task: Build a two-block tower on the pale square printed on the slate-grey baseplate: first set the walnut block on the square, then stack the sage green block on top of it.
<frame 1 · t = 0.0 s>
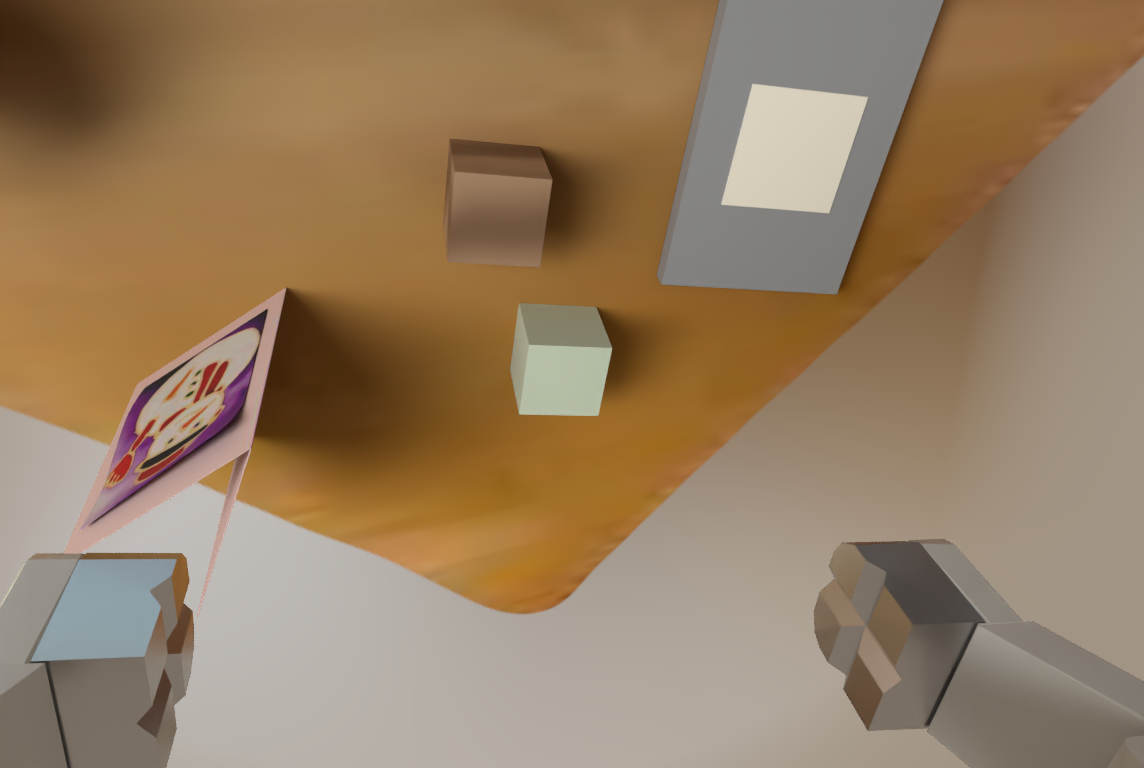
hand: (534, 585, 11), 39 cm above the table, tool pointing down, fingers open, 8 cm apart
baseplate: (784, 144, 50), on the table
sage green block: (552, 338, 55), on the table
walnut block: (490, 185, 48), on the table
greeting card: (244, 366, 52), on the table
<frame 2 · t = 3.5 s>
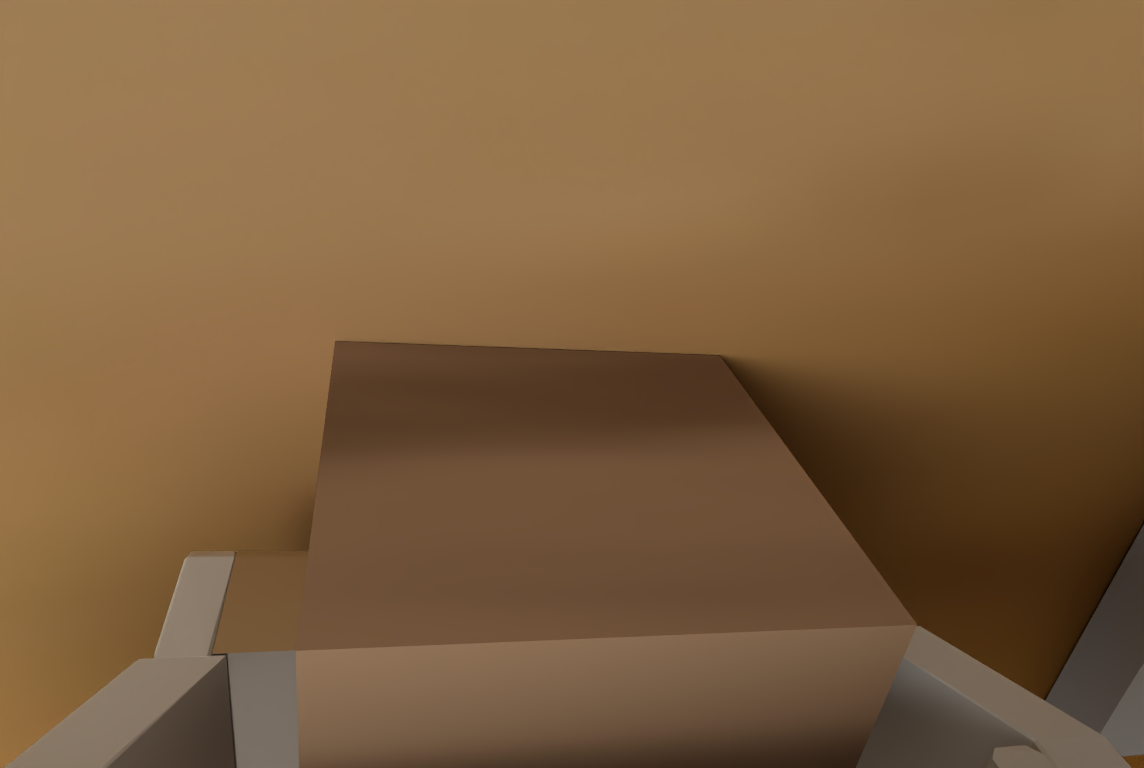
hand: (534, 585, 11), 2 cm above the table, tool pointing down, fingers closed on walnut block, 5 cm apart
walnut block: (517, 506, 12), on the table, touching gripper
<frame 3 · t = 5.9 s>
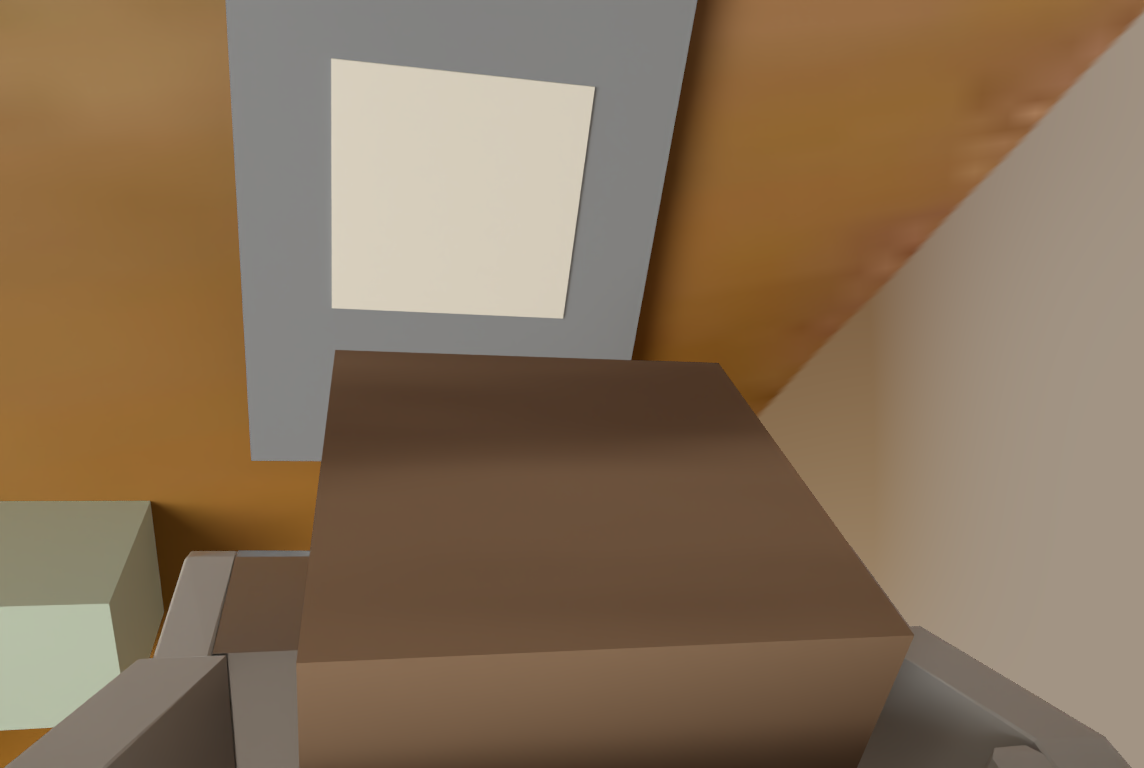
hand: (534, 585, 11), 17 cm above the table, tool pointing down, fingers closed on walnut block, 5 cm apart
baseplate: (455, 188, 25), on the table
sage green block: (79, 558, 29), on the table
walnut block: (517, 513, 12), point 16 cm above the table, touching gripper
when the fingers open (4 cm above the table, at t = 8.8 s): walnut block drops 1 cm, resting on baseplate.
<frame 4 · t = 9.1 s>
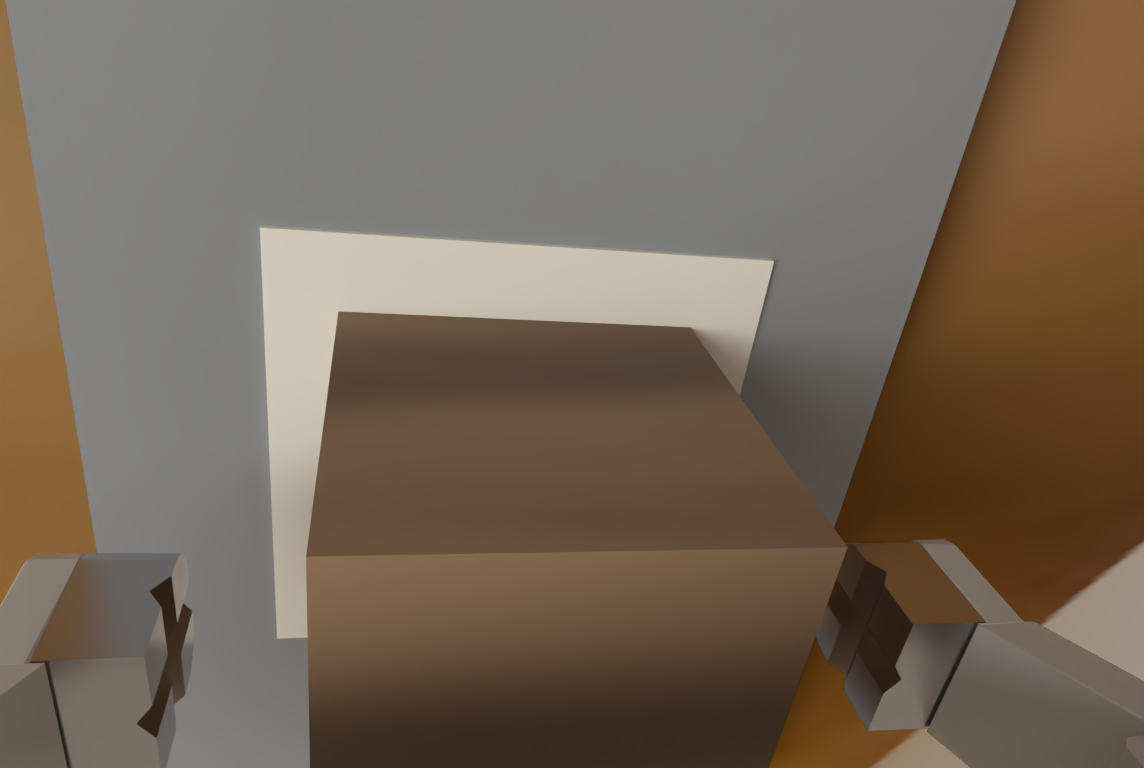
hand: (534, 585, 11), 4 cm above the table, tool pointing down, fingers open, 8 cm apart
baseplate: (500, 418, 14), on the table
walnut block: (505, 467, 13), point 1 cm above the table, touching baseplate
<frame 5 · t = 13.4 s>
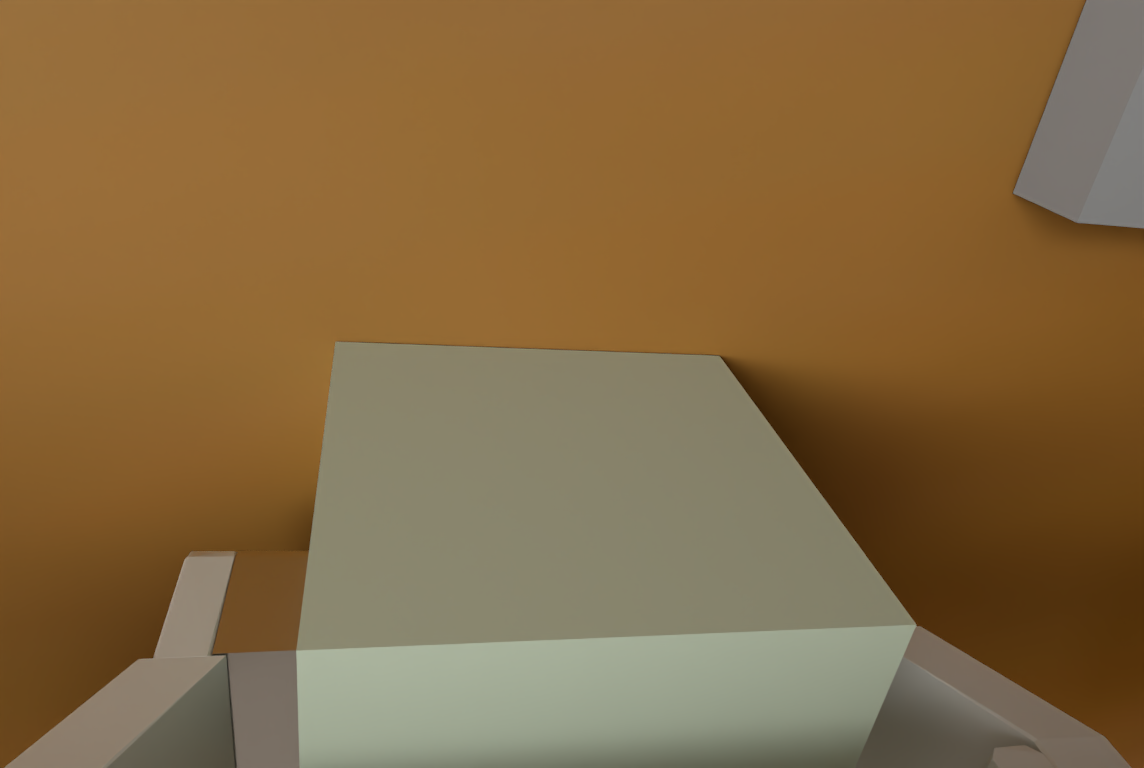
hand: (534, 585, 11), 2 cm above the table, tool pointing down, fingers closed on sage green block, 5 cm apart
sage green block: (517, 506, 12), on the table, touching gripper
when the fingers open (9 cm above the table, at t = 18.3 s): sage green block drops 1 cm, resting on walnut block.
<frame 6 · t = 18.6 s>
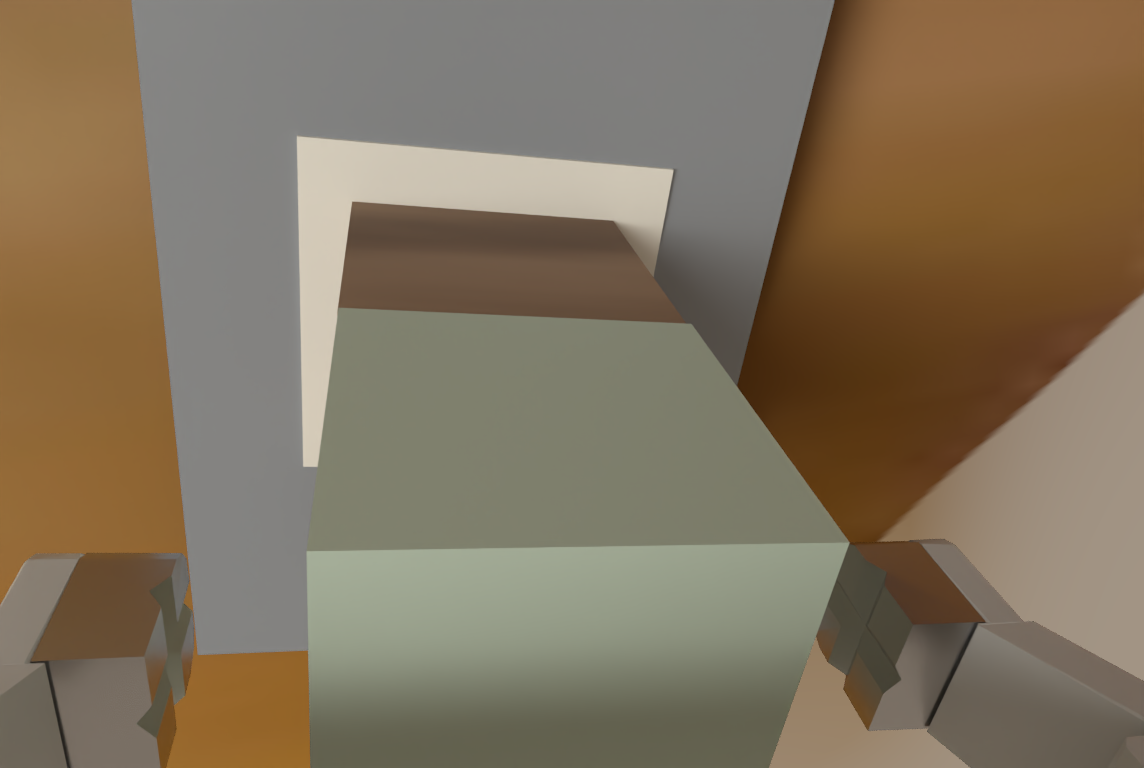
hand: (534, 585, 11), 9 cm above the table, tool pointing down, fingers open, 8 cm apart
baseplate: (474, 300, 18), on the table
sage green block: (506, 464, 13), point 6 cm above the table, touching walnut block
walnut block: (476, 329, 17), point 1 cm above the table, touching baseplate, sage green block
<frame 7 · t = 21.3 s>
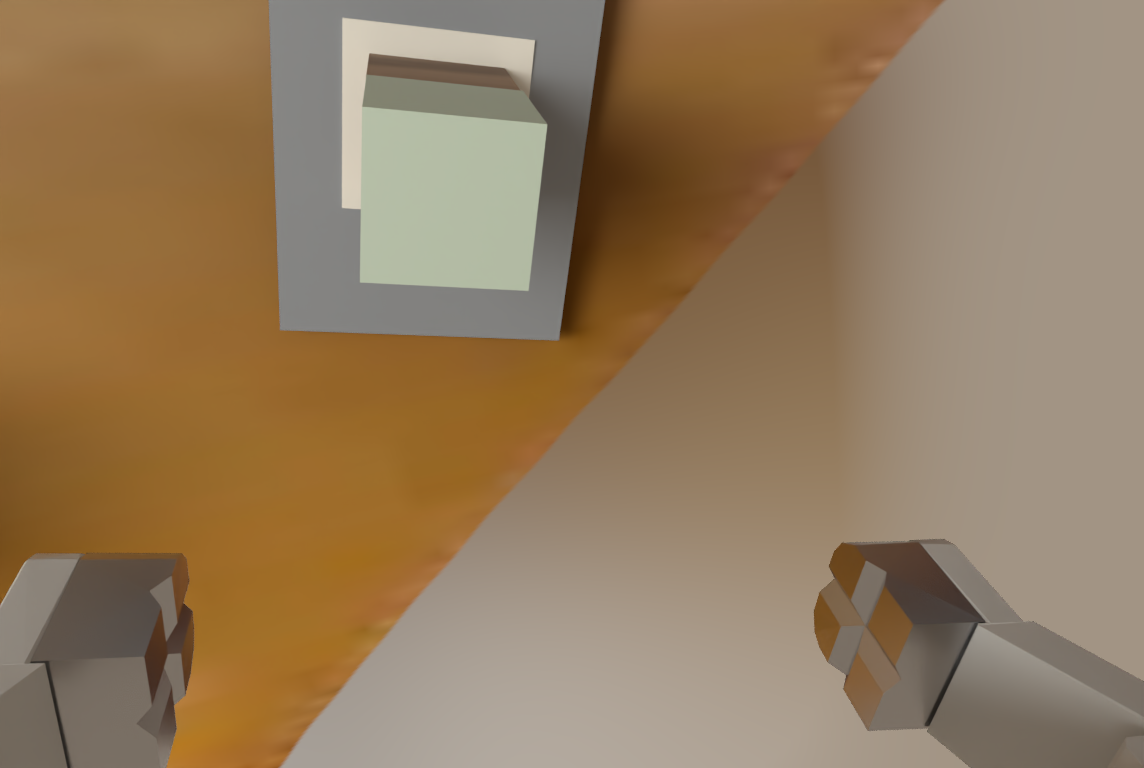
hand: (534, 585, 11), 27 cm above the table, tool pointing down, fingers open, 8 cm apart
baseplate: (434, 119, 34), on the table
sage green block: (441, 160, 28), point 6 cm above the table, touching walnut block
walnut block: (434, 128, 33), point 1 cm above the table, touching baseplate, sage green block
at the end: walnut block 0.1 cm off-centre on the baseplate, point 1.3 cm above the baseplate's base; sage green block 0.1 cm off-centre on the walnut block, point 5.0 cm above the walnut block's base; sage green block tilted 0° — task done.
